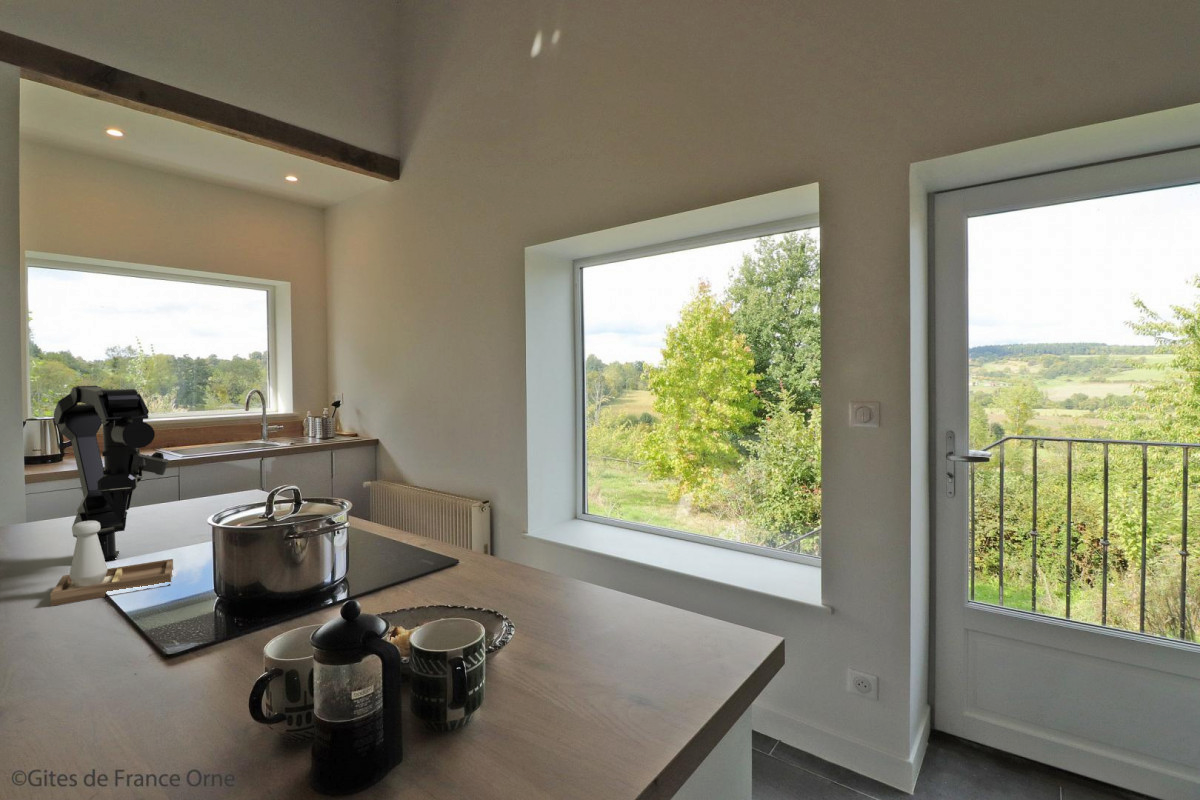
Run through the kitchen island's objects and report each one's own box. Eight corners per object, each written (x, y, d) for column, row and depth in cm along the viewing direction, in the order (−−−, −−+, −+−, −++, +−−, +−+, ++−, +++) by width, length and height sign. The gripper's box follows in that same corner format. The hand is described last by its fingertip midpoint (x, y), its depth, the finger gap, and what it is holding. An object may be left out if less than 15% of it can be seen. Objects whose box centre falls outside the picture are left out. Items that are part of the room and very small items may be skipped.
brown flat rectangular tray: (63, 586, 119) (63, 575, 119) (173, 569, 129) (172, 558, 129) (51, 606, 109) (50, 594, 109) (170, 585, 120) (170, 574, 119)
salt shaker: (111, 583, 117) (108, 521, 117) (73, 591, 113) (70, 527, 112) (103, 577, 121) (100, 516, 120) (67, 585, 116) (64, 522, 116)
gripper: (163, 446, 124) (166, 517, 125) (167, 438, 139) (170, 501, 140) (95, 451, 118) (99, 525, 118) (108, 442, 133) (111, 507, 134)
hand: (123, 514), depth 128 cm, fingers open, 9 cm apart
